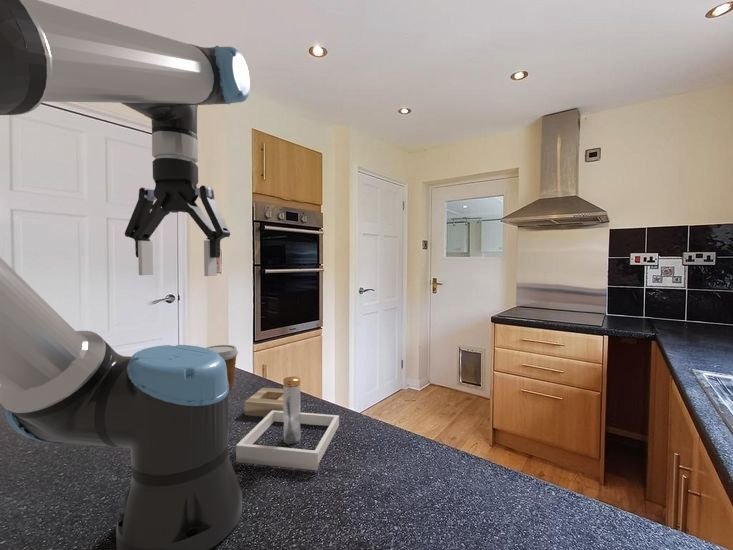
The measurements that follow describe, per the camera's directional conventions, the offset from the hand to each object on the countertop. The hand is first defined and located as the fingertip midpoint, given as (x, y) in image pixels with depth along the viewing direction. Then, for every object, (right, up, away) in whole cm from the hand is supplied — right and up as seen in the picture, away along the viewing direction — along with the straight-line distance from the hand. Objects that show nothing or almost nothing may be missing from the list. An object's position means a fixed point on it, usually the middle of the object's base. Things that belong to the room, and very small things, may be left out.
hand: (177, 275), depth 67 cm
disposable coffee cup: (-4, -32, +28) cm, 43 cm away
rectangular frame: (+21, -33, +2) cm, 39 cm away
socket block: (+14, -32, +16) cm, 38 cm away
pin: (+21, -32, +2) cm, 38 cm away
